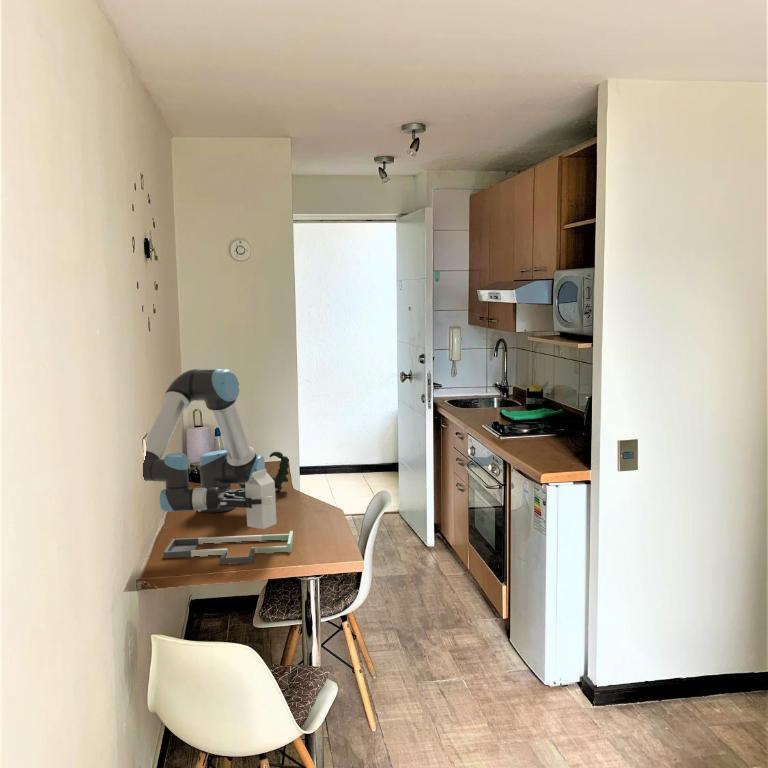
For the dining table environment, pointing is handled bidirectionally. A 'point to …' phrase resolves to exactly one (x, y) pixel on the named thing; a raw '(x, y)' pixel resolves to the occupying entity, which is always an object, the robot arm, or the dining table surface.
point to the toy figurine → (281, 471)
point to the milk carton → (261, 487)
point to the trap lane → (188, 546)
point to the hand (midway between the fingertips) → (273, 496)
